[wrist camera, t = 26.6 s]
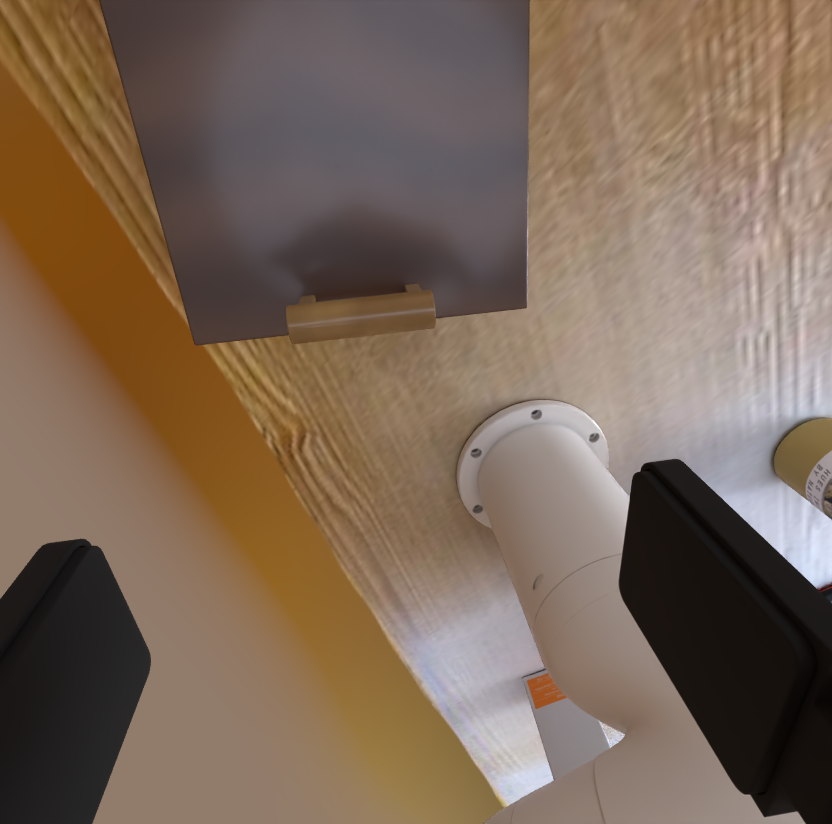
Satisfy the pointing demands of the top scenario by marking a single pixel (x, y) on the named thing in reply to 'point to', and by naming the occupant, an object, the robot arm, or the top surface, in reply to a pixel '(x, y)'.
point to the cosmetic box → (563, 726)
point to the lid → (332, 158)
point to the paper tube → (808, 462)
